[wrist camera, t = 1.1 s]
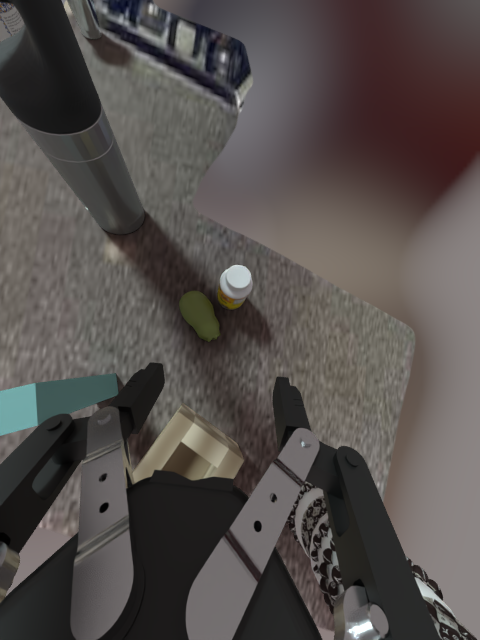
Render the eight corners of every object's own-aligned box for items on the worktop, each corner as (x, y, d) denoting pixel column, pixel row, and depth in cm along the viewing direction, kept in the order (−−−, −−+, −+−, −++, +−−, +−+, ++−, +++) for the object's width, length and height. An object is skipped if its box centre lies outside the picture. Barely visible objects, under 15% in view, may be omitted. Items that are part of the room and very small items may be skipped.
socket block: (132, 471, 30) (115, 497, 24) (182, 402, 33) (178, 411, 27) (193, 515, 30) (191, 552, 24) (237, 443, 33) (244, 460, 27)
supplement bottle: (213, 288, 39) (216, 263, 29) (238, 282, 40) (249, 256, 30) (221, 314, 38) (227, 297, 28) (247, 306, 39) (261, 288, 29)
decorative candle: (264, 469, 33) (422, 746, 9) (310, 449, 35) (535, 634, 11) (279, 528, 32) (516, 1046, 8) (326, 504, 34) (626, 851, 10)
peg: (94, 401, 31) (-16, 439, 15) (92, 379, 31) (-16, 394, 16) (118, 394, 32) (37, 425, 16) (115, 373, 32) (35, 383, 17)
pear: (201, 282, 33) (230, 331, 33) (199, 289, 38) (224, 331, 39) (171, 297, 31) (203, 348, 32) (173, 303, 36) (201, 346, 37)
